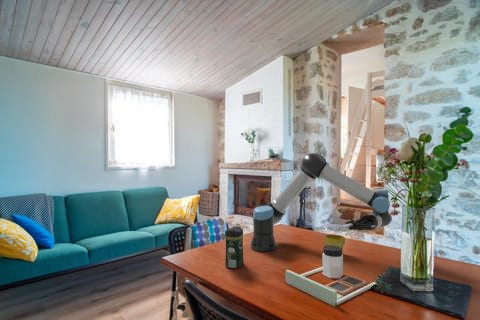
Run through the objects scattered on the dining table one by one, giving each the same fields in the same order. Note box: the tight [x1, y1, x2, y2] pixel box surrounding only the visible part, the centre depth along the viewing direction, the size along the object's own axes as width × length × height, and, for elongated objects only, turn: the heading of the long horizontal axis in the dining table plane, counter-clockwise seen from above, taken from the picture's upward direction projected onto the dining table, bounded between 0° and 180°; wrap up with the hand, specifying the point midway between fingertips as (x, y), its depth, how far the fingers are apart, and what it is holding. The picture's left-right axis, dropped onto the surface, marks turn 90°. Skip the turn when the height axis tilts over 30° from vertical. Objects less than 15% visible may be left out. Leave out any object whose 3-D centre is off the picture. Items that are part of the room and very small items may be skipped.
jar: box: [321, 245, 344, 279], centre depth 126 cm, size 9×8×12 cm
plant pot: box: [324, 233, 346, 251], centre depth 153 cm, size 10×10×10 cm
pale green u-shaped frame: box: [284, 266, 377, 307], centre depth 117 cm, size 28×24×5 cm
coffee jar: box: [224, 225, 245, 270], centre depth 138 cm, size 10×8×19 cm
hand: (343, 228), depth 131 cm, fingers closed
